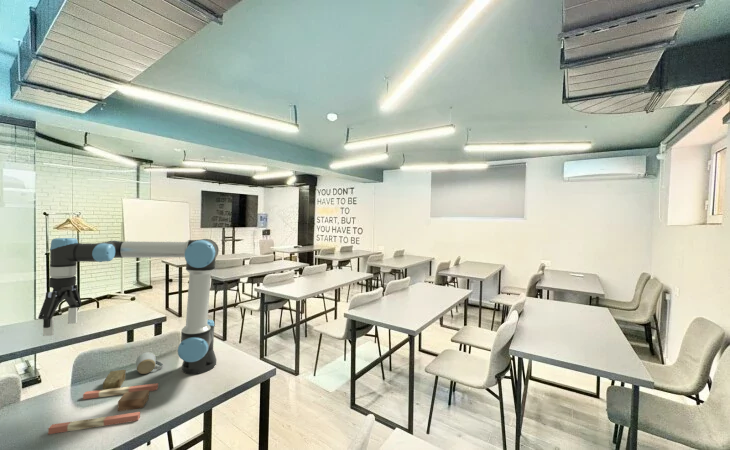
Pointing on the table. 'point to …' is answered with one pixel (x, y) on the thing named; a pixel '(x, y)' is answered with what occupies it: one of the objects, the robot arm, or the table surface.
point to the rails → (100, 421)
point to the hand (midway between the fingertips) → (61, 329)
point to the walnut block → (133, 400)
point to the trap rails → (109, 419)
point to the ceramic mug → (147, 363)
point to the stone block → (114, 379)
